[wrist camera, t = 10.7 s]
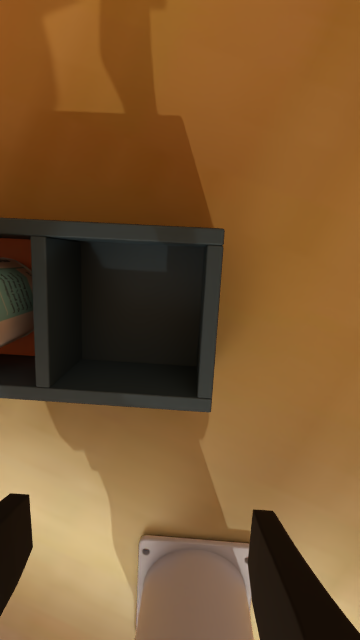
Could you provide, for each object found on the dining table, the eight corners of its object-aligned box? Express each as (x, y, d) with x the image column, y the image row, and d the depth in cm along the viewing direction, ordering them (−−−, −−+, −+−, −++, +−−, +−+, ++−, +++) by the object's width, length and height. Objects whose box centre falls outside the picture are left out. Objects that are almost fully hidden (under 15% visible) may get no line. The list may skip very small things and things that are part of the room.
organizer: (206, 374, 20) (210, 412, 15) (-45, 358, 21) (-119, 390, 16) (217, 236, 19) (224, 228, 14) (-57, 222, 19) (-144, 210, 14)
